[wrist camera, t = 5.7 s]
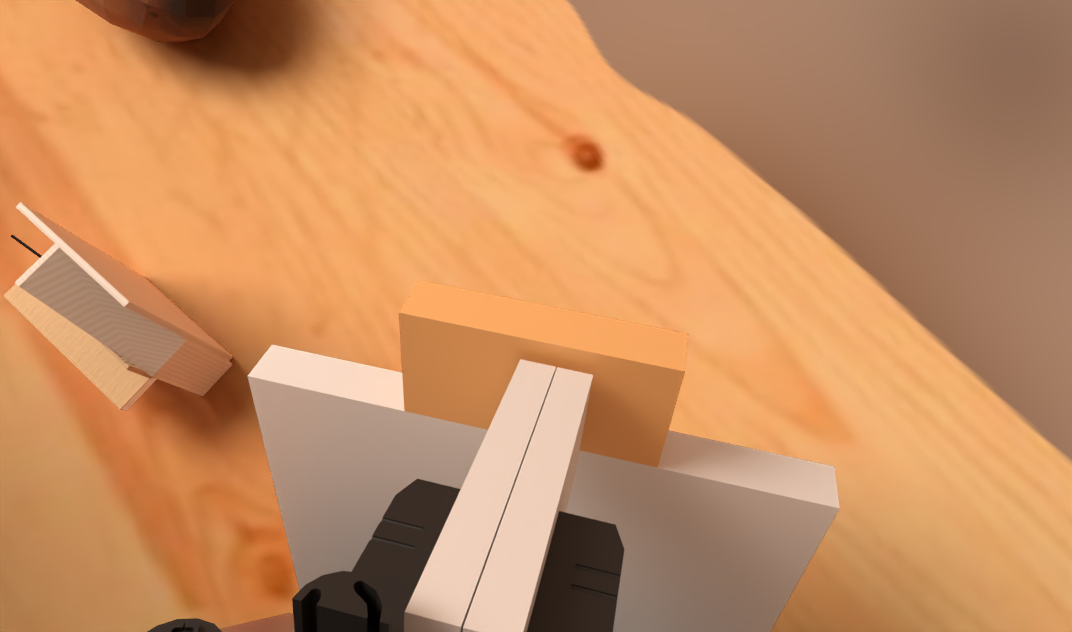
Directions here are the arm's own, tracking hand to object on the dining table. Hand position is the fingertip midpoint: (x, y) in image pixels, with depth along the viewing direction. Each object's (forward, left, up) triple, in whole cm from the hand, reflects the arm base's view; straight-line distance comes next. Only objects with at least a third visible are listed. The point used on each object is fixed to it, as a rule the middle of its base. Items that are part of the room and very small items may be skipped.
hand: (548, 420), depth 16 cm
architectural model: (-15, -8, -13) cm, 21 cm away
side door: (+3, -5, -11) cm, 12 cm away
